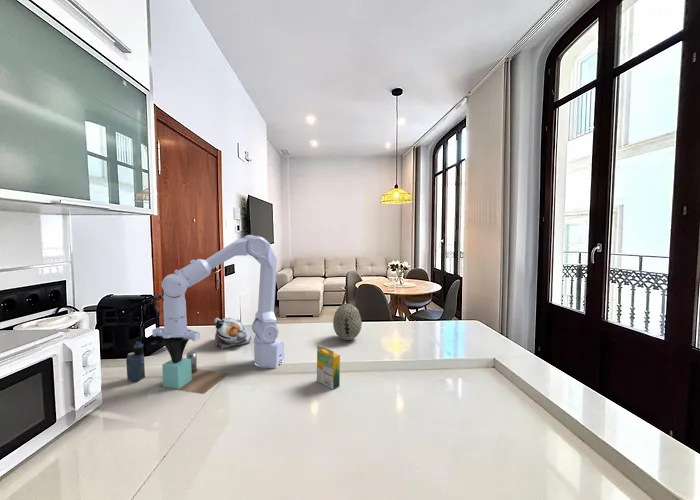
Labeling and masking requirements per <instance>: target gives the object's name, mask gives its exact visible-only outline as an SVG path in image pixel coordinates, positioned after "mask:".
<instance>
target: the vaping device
mask: <svg viewBox="0 0 700 500" xmlns="http://www.w3.org/2000/svg"><path fill="white" fill-rule="evenodd" d="M125 360H126V378H127V380H128V381H129V382H134V383H135V382H136V383H139V382H140V381H141V380H143V379H145V378H146V373H145V372H146V371H145V370H146V369H145V356H144V343H141V341H136V343H135V344H134V345H133V352H129V353H127V357H126V359H125Z"/></svg>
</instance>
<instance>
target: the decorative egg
mask: <svg viewBox="0 0 700 500" xmlns="http://www.w3.org/2000/svg"><path fill="white" fill-rule="evenodd" d="M332 320H333V322H332V323H333V330H334V333H335V334H336V336H337V337H338V338H339V339H342V340H343V341H351V340H353V339H355V338H356V337H358V335H359V334H360V332H361V330H362V324H363V323H362V316H361V314H360V311H359V309H358V308H357V307H356V306H354V305H353V304H352V303H343V304H341V305H340V306H339V307H338V308H337V309H336V311H335V312H334V315H333V318H332Z"/></svg>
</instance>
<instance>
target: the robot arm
mask: <svg viewBox="0 0 700 500" xmlns="http://www.w3.org/2000/svg"><path fill="white" fill-rule="evenodd" d="M248 255H249V256H251V257H252V258H253V259H255V261H257V262H258V263H259V264H260V266H259V267H260V268H259V269H260V271H259V285H258V302H257V311H256V313H255V315H254V319H253V322H252V324H251V330H252V332H253V333H254V334H255V335H254V339H253V348H254V349H253V351H254V352H253V353H254V354H253V357H254V358H253V359H254V361H253V362H255V363H256V364H257V365H259V367H258V368H271V369H277V368H278V364H279V363H281V361H283V359H284V360H285V343H284V341H282V340H279V339H278V337H279V333H280V331H279V328H278V325H277V317H276V314H275V299H276V285H277V284H276V282H277V267H278V266H277V265H278V258H277V256H276V254H275V252H274V251H273V248H272V245H271V243H270V242H269V241H268V240H267V239H266V238H264V237H263V236H259V235H253V234H247V235H245V236H243V237H242V238H238V239H236V240H235V241H233V242H231V243H230V244H228V245H227V246H225V247H223V248H222V249H220V250H218V251H217V252H216V253H214V254H212V255H211V256H209V257H208V258H206V259H202V258H198V259H192V260H190V261H189V264H187V265H186V266H184V267H182V268H181V269H179V270H178V269H175V270H174V273H170V274H168V275H166V276H165V277H164V278H163V280H162V282H161V288H162V291H163V296H162V298H163V301H162V305H163V306H162V309H163V326H164V327H155V328H153V329H152V330H151V331H152V337H157V336H158V337H162V338H163V339H164V340H162V344H163V346H164V347H165V348H166V350H167V351H168V353H169V356H170V358H171V359H170V360H172V362H173V363H178V362H180V361H181V360H182V358H183V355H184V351H185V348H186V347H187V344H188V342H189V340H192V341H193V342H196V341H199V340H200V339H201V332H200V331H196V330H195V331H194V330H192V329H189V328H188V321H187V300H186V296H185V295H186V291H187V289H188V288H191V287H193V286H194V285H196V284H198V283H199V282H200V281H203V280H204V279H206V278H208V277H209V276H211V272H212V270H213V269H215V268H216V267H218V266H219V265H221V264H224V262H227V261H228V260H230V259H232V258H234V257H236V256H237V257H239V256H240V257H241V256H248Z"/></svg>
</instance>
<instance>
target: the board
mask: <svg viewBox="0 0 700 500" xmlns="http://www.w3.org/2000/svg"><path fill="white" fill-rule="evenodd" d="M229 375H230V373H228V372H220V371H215V370H209V369H208V370H207V369H200V368H197V372H196V373H193V374H192V380H191V381H190V382H188V383H187V384H185V385H184V386H183V387H181V388H180V389H175V388H169V387H163V383H162V384H160V385H158V386H157V387H159V388H165V389H171V390H177V391H183V392H188V393H197V394H202V395H205V394H206V393H207V392H208V391H210V390H211V389H212V388H214V387H215V386H216V385H217V384H218V383H220V382H221V381H222V380H224V379H225V378H226V377H228V376H229Z"/></svg>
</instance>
